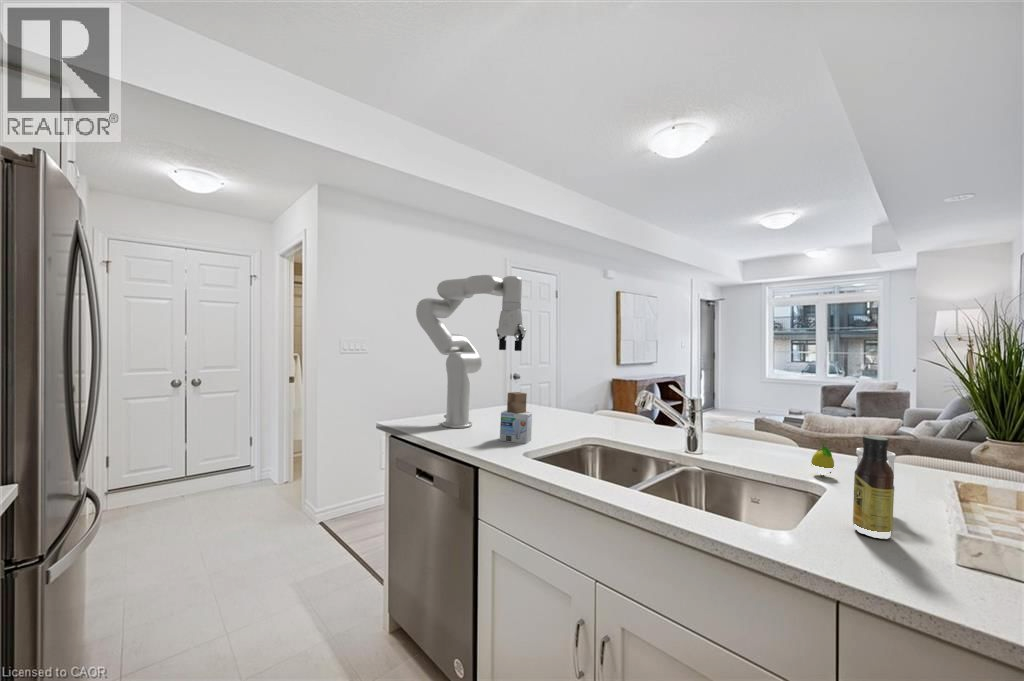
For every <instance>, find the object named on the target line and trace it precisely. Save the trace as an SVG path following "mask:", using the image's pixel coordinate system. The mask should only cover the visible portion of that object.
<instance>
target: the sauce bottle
mask: <svg viewBox="0 0 1024 681" xmlns="http://www.w3.org/2000/svg"><path fill="white" fill-rule="evenodd" d="M889 440H890V439H889V438H887V437H884V436H880V435H879V436H878V435H869V434H868V435H867V434H866V435H863V436H862V444H863V447H862V448H863V457H862V459H861V461H860V463H859V465H858V467H857V466H856V469H855V470H854V480H853V481H854V483H853V507H852V508H853V509H852V510H853V511H852V522H853V525H854V524H856V525H857V526H859V527H861V528H864V529H867V530H871V531H877V532H890V531H892V532H893V526H894V524H893V522H894V504H895V503H894V501H895V499H894V497H895V488H894V486H895V485H894V484H893V483H894V482H893V481H894V480H895V477H894V476H895V473H894V474H893V471H892V469H891V467H890V466H889V465H888V463H889V462H887V461H888V460H887V451H888V448H889V446H890V445H889ZM893 485H894V486H893Z"/></svg>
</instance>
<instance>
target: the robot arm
mask: <svg viewBox="0 0 1024 681" xmlns="http://www.w3.org/2000/svg"><path fill="white" fill-rule="evenodd" d="M522 282H523V280H522V278H521V277H520V276H515V275H507V276H505V277H499V276H496V275H491V274H479V275H471V276H469V277H466V278H456V279H445V280H441V282H439V283H438V285H437V286H436V287H437V288H436V292H437V294H438V296H439V297H440V298H441V299H440V298H432V297H427V298H422V299H421V300H420V301H418V303H417V305H416V309H415V310H416V311H415V313H416V314H415V316H416V320H417V322H418V323H419V325H420V327H421V329H422V330H423V331H424V332H425V333H426V335H427V336H428V337H429V339H430V340H431V342H432V344H433V345H434V346H435V348H436V349H437V350H438V352H439V353H440V354H441V355H443V356H447V358H446V359H445V360H446V361H445V367H446V368H445V369H446V374H447V375H446V376H447V377H446V379H447V385H446V386H447V387H446V388H447V390H446V392H447V393H446V394H447V395H446V413H445V414H444V415H443V418H444V419H445V420H444V421H443V422H442V426H443V427H446V428H450V429H462V428H463V429H464V428H466V429H467V428H470V427H472V426H473V423H472V422H471V421H469V420H470V419H469V418H470V396H471V394H470V389H471V387H470V386H471V384H470V379H469V375H468V374H475V373H477V372H478V371H480V370H481V367H482V364H483V363H482V358H481V355H480V354H479V353H478V352H477V350H476V348H475V347H474V346H473V345H472V343H471V342H470V341H469V339H468V338H467V337H466V336H464V335H463V334H459V333H458V334H457V333H455V334H454V333H451V332H450V331H449V329H447V327H446V325H445V324H444V323H443V322H442V321H441V320H439V319H447V318H449V317H450V316H452V314H453V313H455V311H456V310H457V309H458V308H459V307H460V306H461V304H462V303H463V302H464V301H465V300H466V299H471V298H473V297H474V295H481V294H485V295H493V296H496V297H502V302H501V303H502V304H501V306H502V307H501V308H502V309H501V311H500V314H499V320H498V328H496V330H495V331H496V334H497V335H496V336H497V339H498V340H499V341H498V350H499V351H506V349H507V340H506V339H507V337H509V336H510V337H511V336H512V337H514V339H515V340H514V352H521V351H522V350H523V349H522V348H523V341H524V338H525V335H526V332H527V329H526V328H525V327H524V326H523V315H522V291H523V290H522V284H523V283H522Z"/></svg>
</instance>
